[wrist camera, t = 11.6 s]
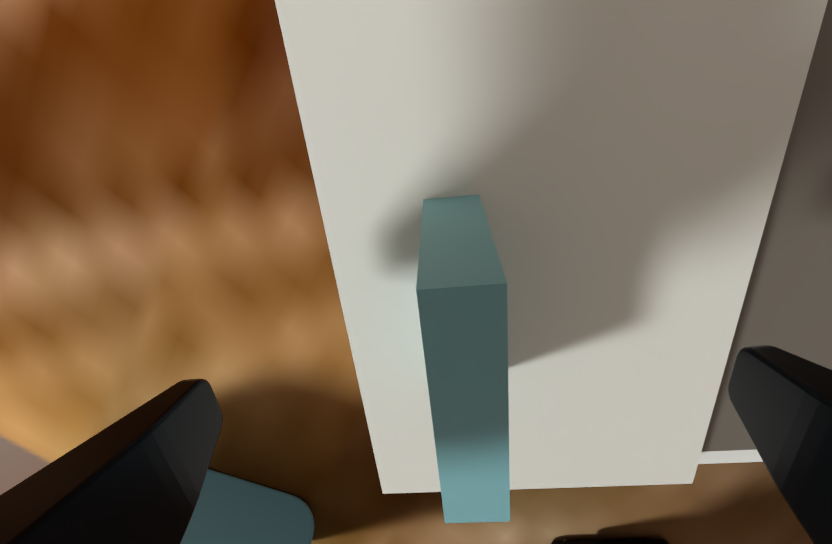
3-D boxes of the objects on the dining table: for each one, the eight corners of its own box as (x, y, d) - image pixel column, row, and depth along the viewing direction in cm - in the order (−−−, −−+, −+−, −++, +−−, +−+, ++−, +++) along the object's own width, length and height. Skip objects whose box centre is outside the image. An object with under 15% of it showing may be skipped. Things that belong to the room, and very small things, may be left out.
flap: (683, 469, 13) (790, 645, 9) (384, 480, 14) (364, 646, 10) (839, -128, 7) (1398, -384, 3) (273, -46, 8) (99, -155, 4)
